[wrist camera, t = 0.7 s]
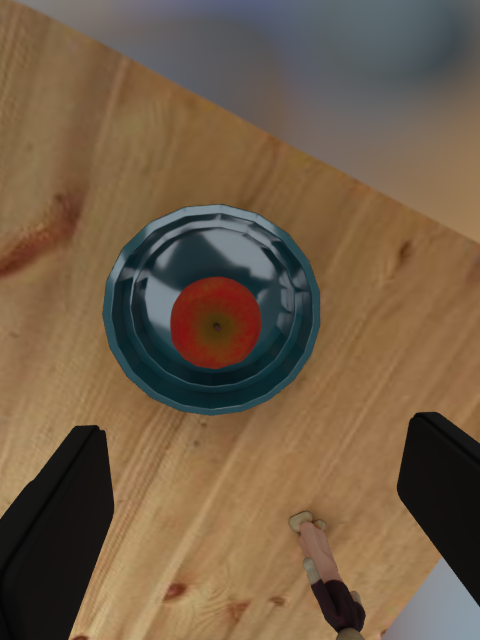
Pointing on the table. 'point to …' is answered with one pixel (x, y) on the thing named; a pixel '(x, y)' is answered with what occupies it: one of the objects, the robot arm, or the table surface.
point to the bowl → (195, 264)
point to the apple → (215, 322)
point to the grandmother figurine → (328, 579)
